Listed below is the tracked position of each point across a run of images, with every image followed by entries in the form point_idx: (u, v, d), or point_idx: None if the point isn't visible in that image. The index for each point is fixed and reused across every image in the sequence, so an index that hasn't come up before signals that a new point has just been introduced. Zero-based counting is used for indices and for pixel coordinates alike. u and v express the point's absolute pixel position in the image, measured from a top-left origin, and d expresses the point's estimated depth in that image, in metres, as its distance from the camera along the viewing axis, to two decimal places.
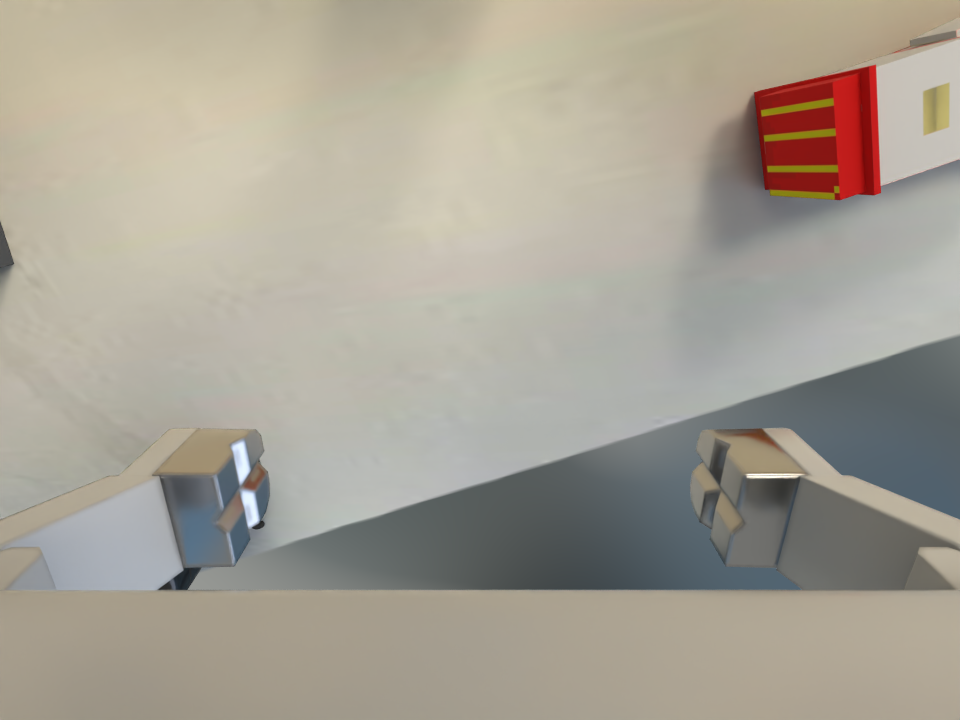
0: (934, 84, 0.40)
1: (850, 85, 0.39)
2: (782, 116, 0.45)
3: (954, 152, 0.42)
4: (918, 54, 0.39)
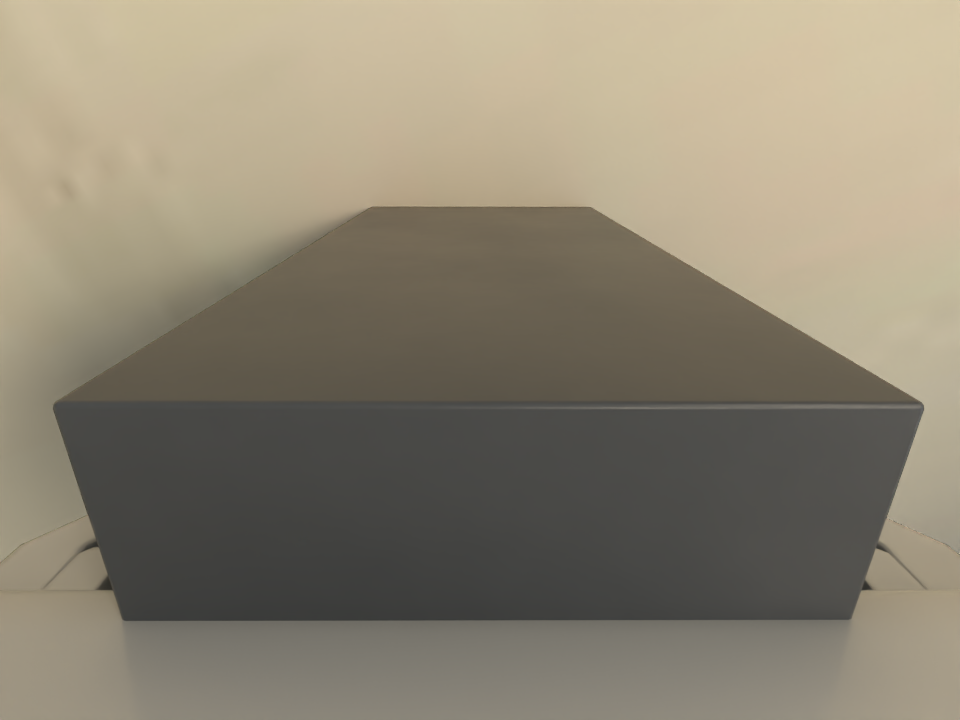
0: None
1: None
2: None
3: None
4: None
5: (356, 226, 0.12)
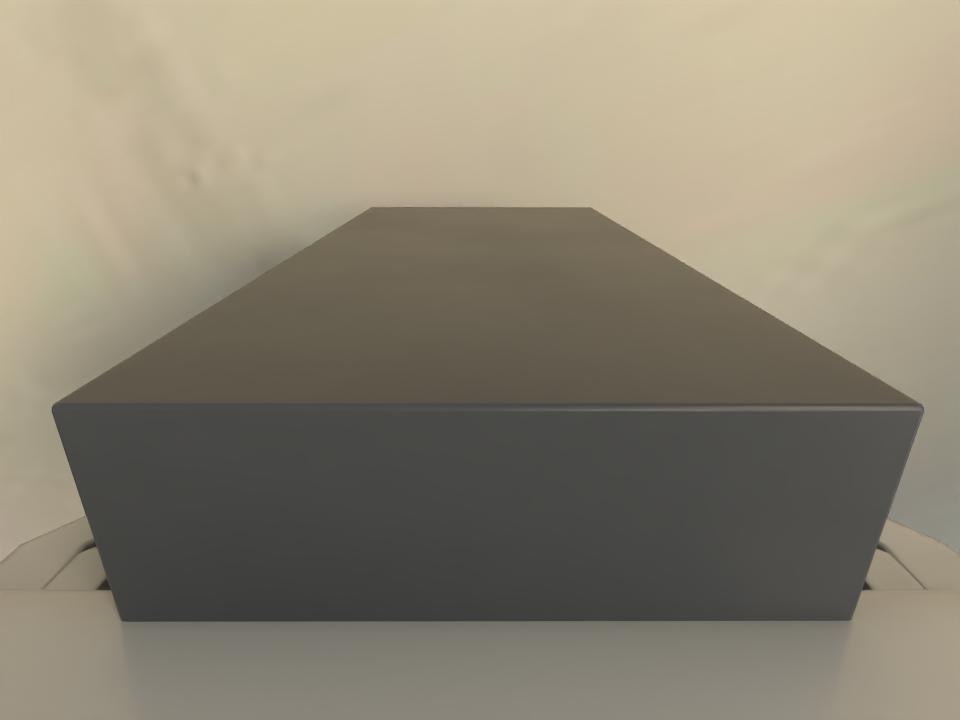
0: None
1: None
2: None
3: None
4: None
5: (356, 226, 0.12)
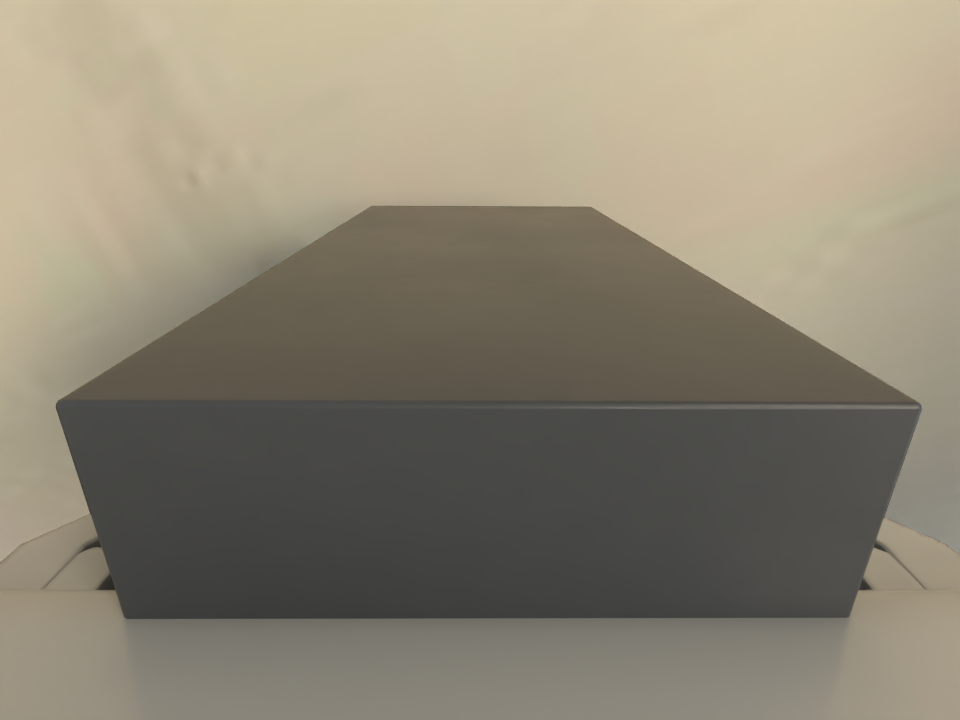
0: None
1: None
2: None
3: None
4: None
5: (356, 225, 0.12)
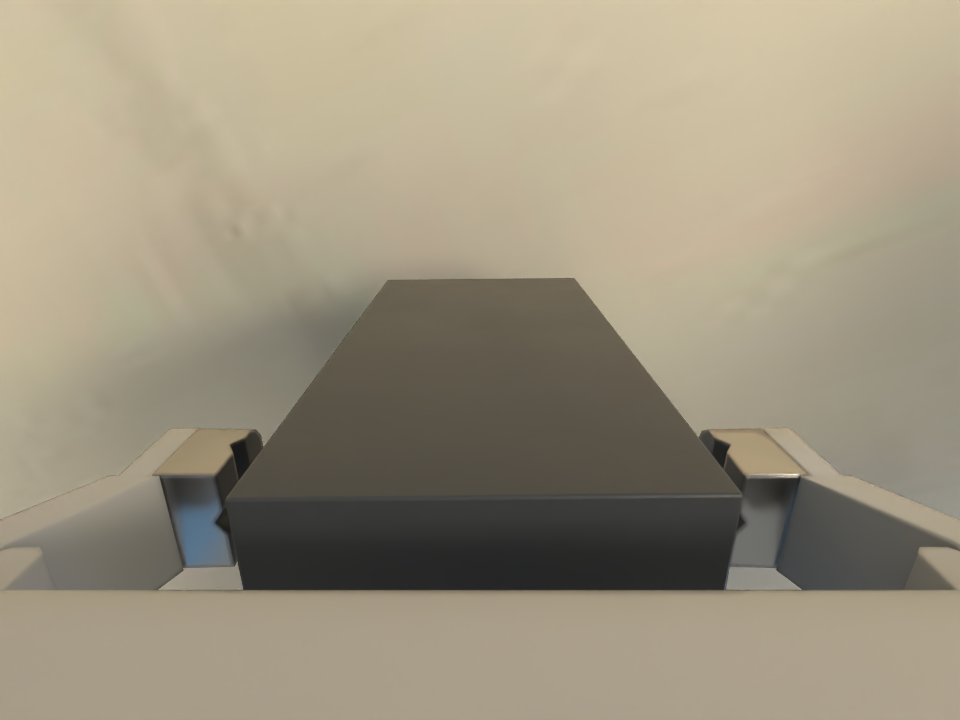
0: None
1: None
2: None
3: None
4: None
5: (379, 310, 0.14)
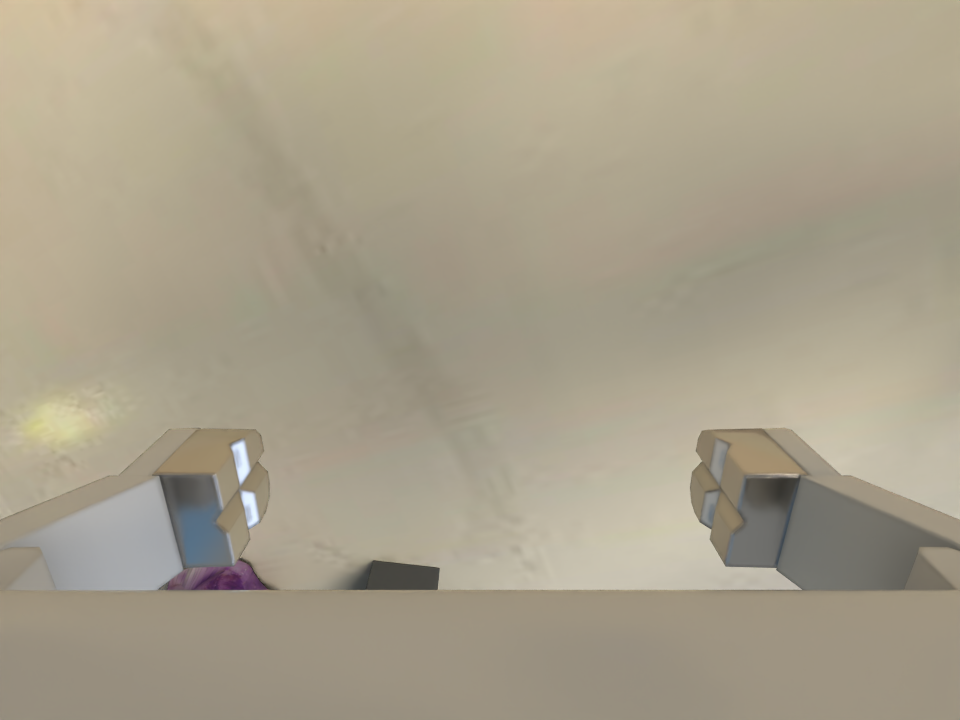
0: None
1: None
2: None
3: None
4: None
5: None
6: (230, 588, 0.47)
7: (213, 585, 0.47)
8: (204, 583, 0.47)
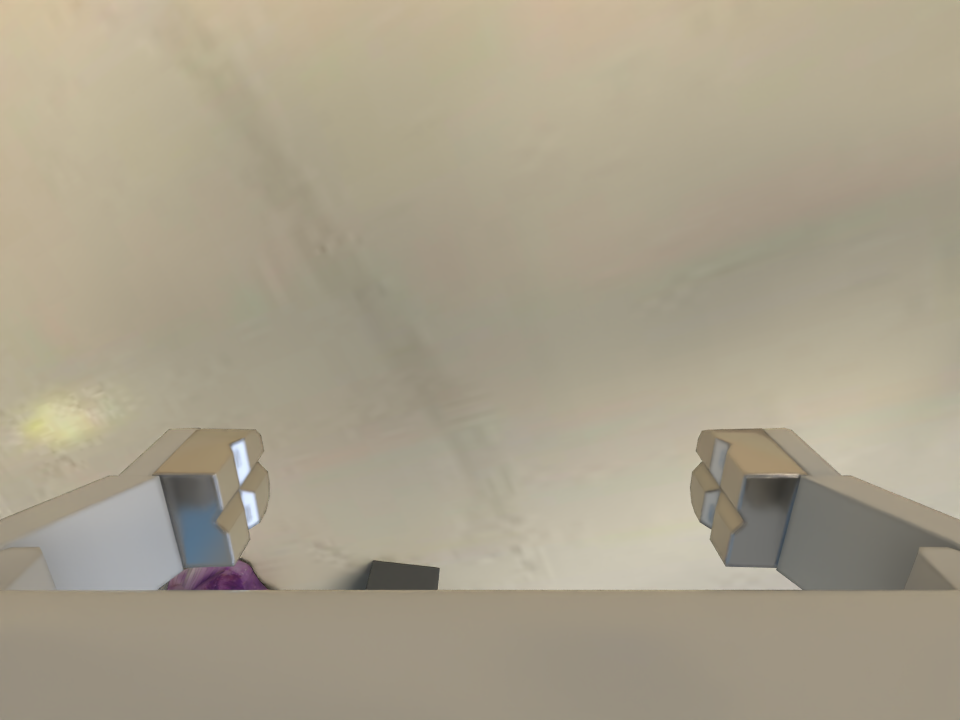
0: None
1: None
2: None
3: None
4: None
5: None
6: (230, 588, 0.47)
7: (213, 585, 0.47)
8: (204, 583, 0.47)
